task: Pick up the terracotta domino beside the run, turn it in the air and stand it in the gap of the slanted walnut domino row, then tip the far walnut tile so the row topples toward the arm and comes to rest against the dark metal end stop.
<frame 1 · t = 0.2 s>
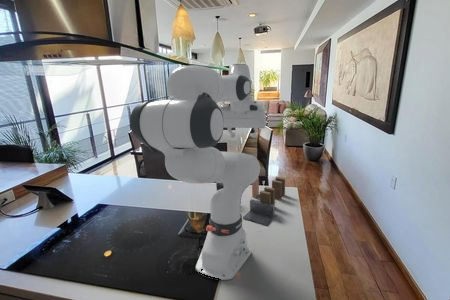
hand: (243, 137, 103), 39 cm above the counter, tool pointing down, fingers open, 8 cm apart
tile b: (276, 198, 130), on the counter
end stop: (262, 214, 115), on the counter
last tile: (265, 210, 118), on the counter
tile d: (269, 206, 122), on the counter
box: (225, 201, 130), on the counter
end tile: (280, 194, 134), on the counter
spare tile: (255, 195, 135), on the counter
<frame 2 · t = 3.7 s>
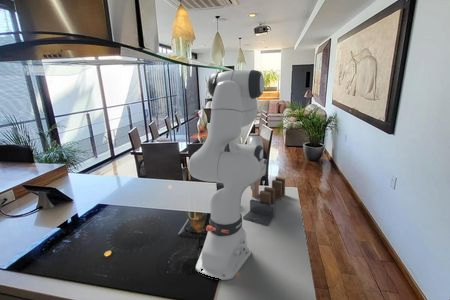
hand: (255, 187, 133), 5 cm above the counter, tool pointing down, fingers closed on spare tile, 5 cm apart
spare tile: (255, 195, 135), on the counter, touching gripper
everything else where it was.
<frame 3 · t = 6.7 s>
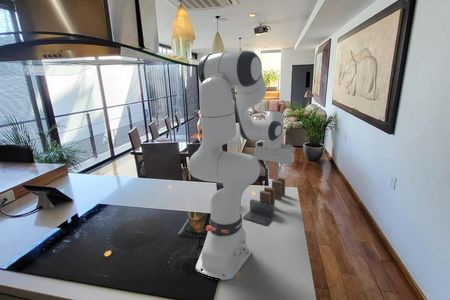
hand: (273, 169, 121), 18 cm above the counter, tool pointing down, fingers closed on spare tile, 5 cm apart
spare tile: (273, 178, 123), point 13 cm above the counter, touching gripper
everything else where it was.
when the fingers open (6 cm above the counter, at t = 9.8 s): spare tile stays where it is, on the counter.
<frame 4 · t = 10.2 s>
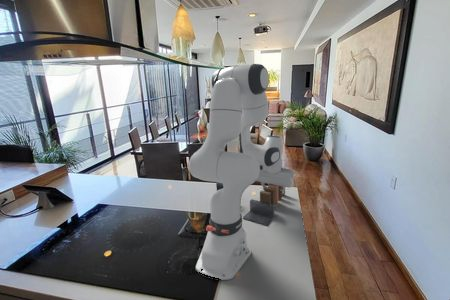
hand: (273, 191, 125), 6 cm above the counter, tool pointing down, fingers open, 8 cm apart
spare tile: (273, 202, 126), on the counter
everything else where it was.
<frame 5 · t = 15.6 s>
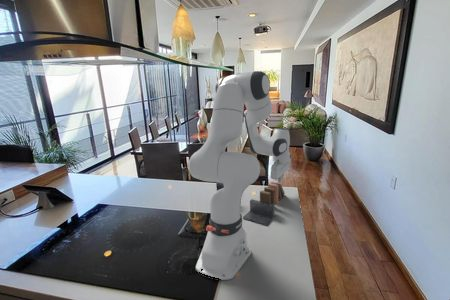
hand: (280, 181, 132), 8 cm above the counter, tool pointing down, fingers closed
tile b: (276, 197, 130), on the counter, tilted 19°, touching end tile
end tile: (280, 193, 134), on the counter, tilted 37°, touching tile b
everything else where it was.
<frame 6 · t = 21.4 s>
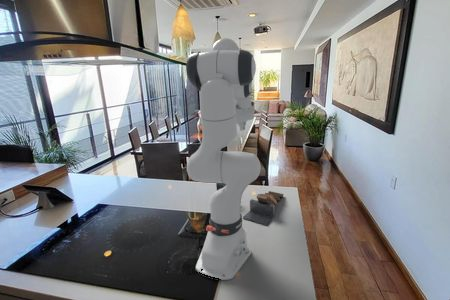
hand: (242, 130, 128), 37 cm above the counter, tool pointing down, fingers closed
tile b: (275, 198, 129), point 1 cm above the counter, tilted 56°, touching end tile, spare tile
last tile: (266, 208, 119), point 1 cm above the counter, tilted 31°, touching end stop, tile d
tile d: (268, 205, 122), on the counter, tilted 36°, touching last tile, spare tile
end tile: (279, 194, 133), point 1 cm above the counter, tilted 63°, touching tile b
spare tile: (272, 201, 125), point 1 cm above the counter, tilted 49°, touching tile b, tile d
everything else where it was.
at the end: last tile tilted 31°; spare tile tilted 49°; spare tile 1.2 cm from the target spot, point 0.6 cm above the counter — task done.
